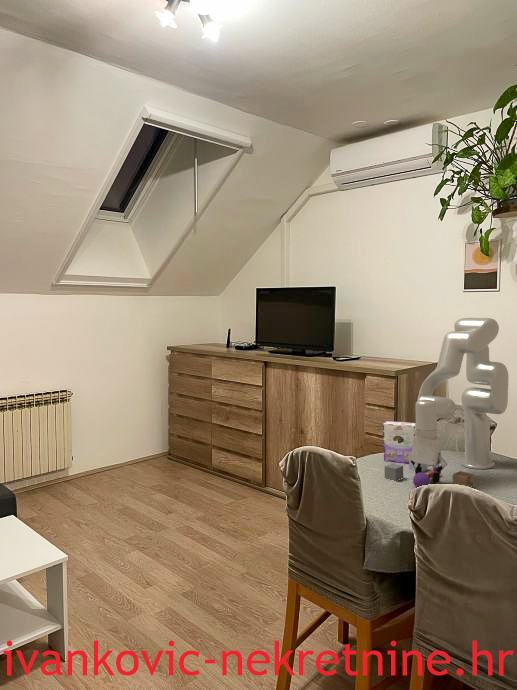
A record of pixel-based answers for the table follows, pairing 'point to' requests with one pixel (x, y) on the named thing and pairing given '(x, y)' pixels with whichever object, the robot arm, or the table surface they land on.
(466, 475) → the walnut block
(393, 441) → the candy box
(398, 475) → the charcoal block
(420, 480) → the kendama
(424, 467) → the dusty blue block
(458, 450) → the table surface
